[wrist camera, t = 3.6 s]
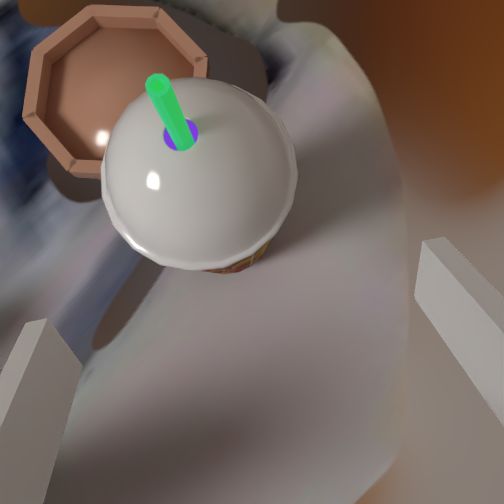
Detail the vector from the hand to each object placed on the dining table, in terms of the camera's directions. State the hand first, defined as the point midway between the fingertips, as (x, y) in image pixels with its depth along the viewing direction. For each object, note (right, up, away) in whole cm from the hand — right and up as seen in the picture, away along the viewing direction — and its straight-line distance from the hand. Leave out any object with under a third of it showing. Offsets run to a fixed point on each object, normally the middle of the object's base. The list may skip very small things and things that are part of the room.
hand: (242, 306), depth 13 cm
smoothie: (-2, +3, +16) cm, 17 cm away
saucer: (-10, +14, +18) cm, 25 cm away
